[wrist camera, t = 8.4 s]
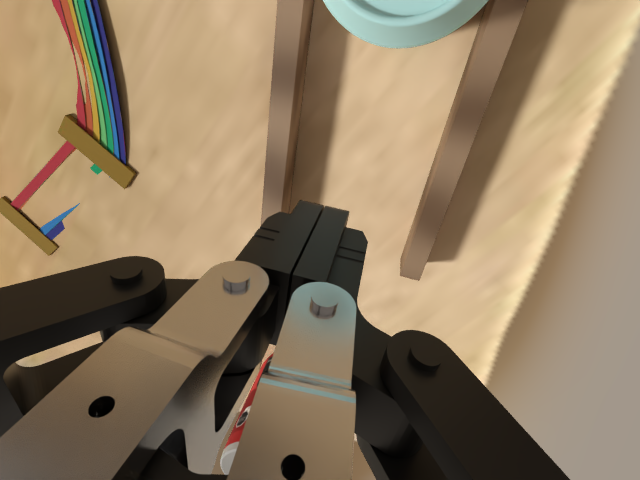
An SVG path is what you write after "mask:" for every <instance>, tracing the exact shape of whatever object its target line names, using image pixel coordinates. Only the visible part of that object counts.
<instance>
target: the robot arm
mask: <svg viewBox="0 0 640 480" xmlns="http://www.w3.org/2000/svg"><path fill="white" fill-rule="evenodd" d="M348 216H349V211H346V210H341V209H337V208H333V207H329V206H325V208H324V205H320V204H316V203H311V202H307V201H303V200H300V201H299V202H298V204H297V206H296V207H295V209H294V210H293V212H292V213H291V214H288V213H284V212H278V213H276V214H274V215H272V216H270V217H268V218H267V219H266V220H265V221H264V223H263V224H262V225H261V226H260V229H258V230H257V232H256V233H255V235H254V236H253V237H252V238H251V240H250V241H249V242H248V244H247V245H246V246H245V248H244V249H243V250H242V252H241V253H240V254H239V255H238V257H237V258H236V259H235V261H228V262H224V263H220V264H218V265H215V266H214V267H212V268H211V269H209V270H208V271H207V272H206V273H205V274H204V275H203V276H202V277H201V278H200V279H165V273H164V269H163V266H162V265H161V264H160V263H159V262H157V261H155V260H153V259H150V258H147V257H140V256H129V257H122V258H117V259H113V260H109V261H105V262H102V263H98V264H94V265H90V266H86V267H82V268H78V269H74V270H70V271H66V272H62V273H58V274H54V275H50V276H46V277H42V278H38V279H34V280H30V281H26V282H22V283H18V284H14V285H10V286H6V287H2V288H0V480H352V466H353V448H354V433H356V435H357V441H358V445H359V447H360V449H361V451H362V453H363V455H364V457H365V459H366V461H367V463H368V464H369V466H370V468H371V470H372V472H373V474H374V476H375V478H376V480H570V479H569V478H568V477H567V476H566V475H565V474H564V472H563V471H562V470H561V469H560V468H559V467H558V466H557V465H556V464H555V463H554V461H553V460H552V459H551V458H550V457H549V456H548V455H547V454H546V453H545V452H544V450H543V449H542V448H540V446H539V445H538V444H537V443H536V442H535V441H534V440H533V438H532V437H531V436H530V435H529V434H528V433H527V432H526V431H525V430H524V429H523V427H522V426H521V425H520V424H519V423H518V422H517V421H516V420H515V419H514V418H513V417H512V415H511V414H510V413H509V412H508V411H507V410H506V409H505V408H504V407H503V406H502V404H500V402H499V401H498V400H497V399H496V398H495V397H494V396H493V395H492V394H491V393H490V392H489V390H488V389H487V388H486V387H485V386H484V385H483V384H482V383H481V381H480V380H479V379H478V378H477V377H476V376H475V375H474V374H473V373H472V372H471V370H470V369H469V368H468V367H467V366H466V365H465V364H464V363H463V362H462V361H461V360H460V358H459V357H458V356H457V355H456V354H455V353H454V352H453V351H452V350H451V349H450V348H449V347H448V346H447V345H446V344H445V343H444V342H442V341H441V340H440V339H438V338H436V337H435V336H432V335H430V334H428V333H425V332H421V331H416V330H405V331H401V332H399V333H396V334H395V335H393V336H392V337H391V336H389V335H388V334H386V333H384V332H382V331H380V330H379V329H377V328H375V327H374V326H372V325H371V324H370V323H369V322H368V321H367V320H366V319H365V318H364V317H363V316H362V314H361V313H360V311H359V308H358V305H357V296H358V291H359V286H360V280H361V275H362V270H363V265H364V259H365V254H366V249H367V244H368V241H367V239H366V237H365V235H364V233H363V231H359V230H355V229H351V228H347V227H346V225H347V221H348ZM98 331H100V334H101V337H102V341H103V342H101V343H98V344H96V345H93V346H90V347H87V348H85V349H82V350H79V351H77V352H74V353H71V354H69V355H66V356H63V357H61V358H58V359H55V360H53V361H50V362H47V363H45V364H42V365H39V366H35V367H22V366H19V365H17V364H16V363H15V362H16V361H18V360H20V359H22V358H24V357H27V356H30V355H33V354H36V353H38V352H41V351H44V350H47V349H50V348H53V347H55V346H58V345H61V344H64V343H67V342H70V341H72V340H75V339H78V338H81V337H84V336H86V335H89V334H92V333H95V332H98ZM269 344H273V345H276V347H275V351H274V354H273V357H272V360H271V363H270V366H269V369H268V371H264V372H263V374H262V376H261V379H260V381H259V384H258V387H257V390H256V393H255V396H254V399H253V402H252V405H251V408H250V411H249V414H248V417H247V420H246V423H245V426H244V429H243V432H242V435H241V438H240V441H239V444H238V447H237V450H236V453H235V456H234V459H233V462H232V465H231V468H230V471H229V474H228V475H214V474H211V472H212V469H213V467H214V464H215V460H216V456H217V453H218V450H219V447H220V445H221V442H222V440H223V438H224V436H225V434H226V432H227V431H228V429H229V427H230V425H231V423H232V421H233V420H234V418H235V416H236V414H237V412H238V410H239V408H240V407H241V405H242V403H243V401H244V399H245V397H246V395H247V394H248V392H249V390H250V388H251V386H252V384H253V382H254V381H255V379H256V377H257V375H258V373H259V371H260V369H261V364H262V359H263V357H264V355H265V353H266V350H267V348H268V346H269Z"/></svg>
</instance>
